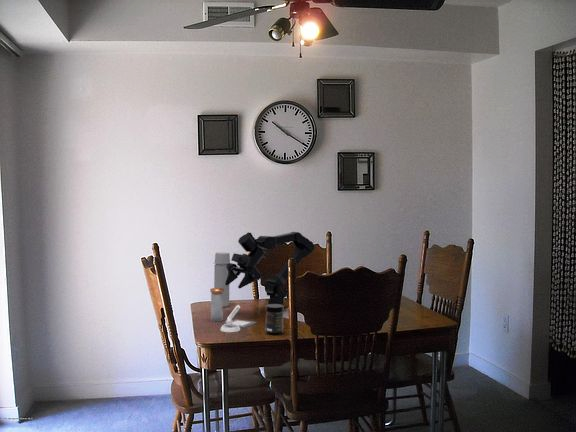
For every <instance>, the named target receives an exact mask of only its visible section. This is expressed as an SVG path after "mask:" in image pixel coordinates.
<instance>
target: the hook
mask: <svg viewBox="0 0 576 432" xmlns="http://www.w3.org/2000/svg"><path fill="white" fill-rule="evenodd" d="M240 309H241V306H240V305H239V304H237V305H236V306H235V307H234V308H233V310H232V311H231V312H230V314H229V315H228V317H227V318H226V320H225V323H227V324H225V325H223V324H222V326H221V327H220V331H221V332H223V333H235V332H239V331H241V328H240V327H239V325H237V324H233V321H232V320H233V318H234V317H235V316H236V315H237V313H238V312H239V310H240Z"/></svg>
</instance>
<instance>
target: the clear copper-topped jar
mask: <svg viewBox="0 0 576 432" xmlns="http://www.w3.org/2000/svg"><path fill="white" fill-rule="evenodd" d="M223 292H224V289H223V288H214V287H213V288H210V293H211V294H210V321H211V322H223V315H224V314H223V312H224V311H223V310H224V309H223V308H224V307H223Z"/></svg>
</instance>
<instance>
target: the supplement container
mask: <svg viewBox="0 0 576 432" xmlns="http://www.w3.org/2000/svg"><path fill="white" fill-rule="evenodd" d="M283 307H284V304H283V305H280V304H266V305H265V333H266V334H267V335H273V336H277V335H281V334H283V333H284V311H283Z"/></svg>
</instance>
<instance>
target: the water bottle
mask: <svg viewBox="0 0 576 432" xmlns="http://www.w3.org/2000/svg"><path fill="white" fill-rule="evenodd" d="M230 257H231V256H230V252H227V251H226V252H225V251H220V252H219V251H218V252H215V255H214V262H213V264H214V269H213V270H214V273H213V275H214V280H213V281H214V282H213V283H214V285H213V286H214V287H213V288H223V289H224V292H223V308H226V307H229V305H230V284H229V285H227V286H226V285H225V283H226V280H227V277H228V270H227V268H226V266H227V265H228V263H231V258H230Z"/></svg>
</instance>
